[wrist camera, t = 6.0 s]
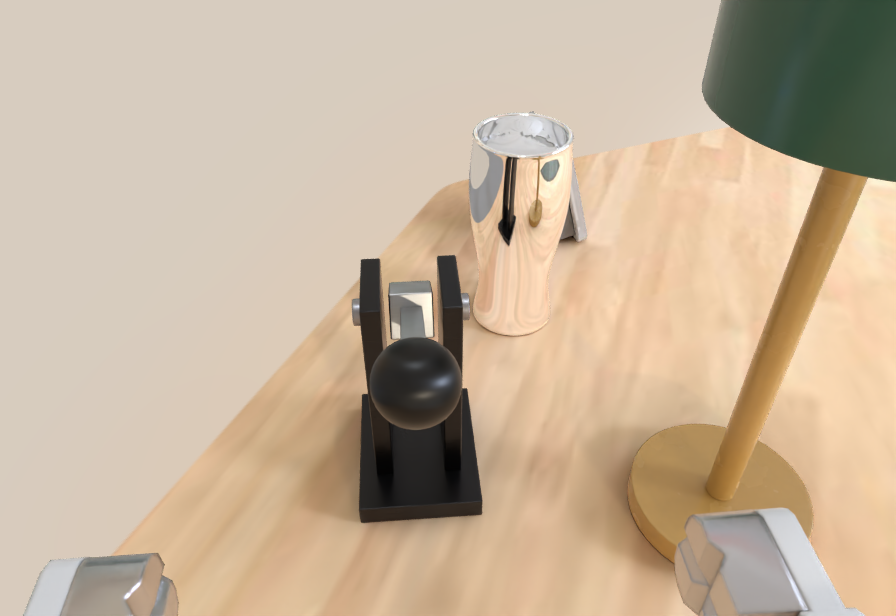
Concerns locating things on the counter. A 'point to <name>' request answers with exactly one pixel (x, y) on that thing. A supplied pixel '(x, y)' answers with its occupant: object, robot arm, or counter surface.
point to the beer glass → (517, 216)
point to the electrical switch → (574, 212)
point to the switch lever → (414, 363)
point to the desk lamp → (836, 195)
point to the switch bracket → (415, 451)
